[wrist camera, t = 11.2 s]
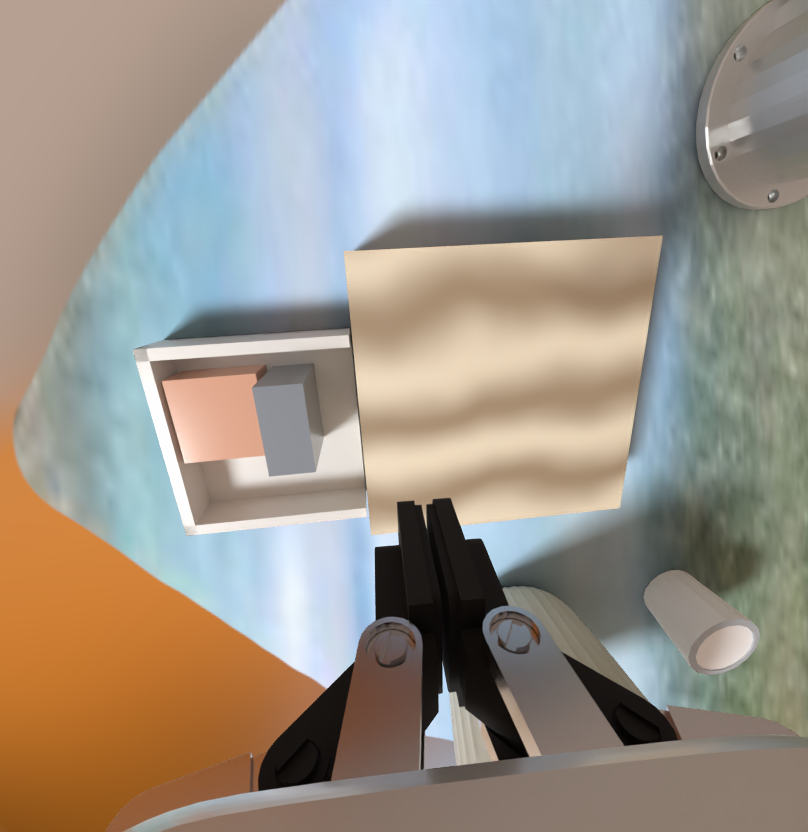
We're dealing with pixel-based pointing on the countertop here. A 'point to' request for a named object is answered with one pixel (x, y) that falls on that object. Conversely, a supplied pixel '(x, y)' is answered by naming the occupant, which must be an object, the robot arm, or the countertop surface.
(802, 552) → the countertop surface
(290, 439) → the slate tile
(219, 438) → the terracotta tile
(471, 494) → the board
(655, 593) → the shot glass
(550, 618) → the canister
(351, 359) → the bin
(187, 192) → the countertop surface
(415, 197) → the countertop surface
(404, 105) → the countertop surface
